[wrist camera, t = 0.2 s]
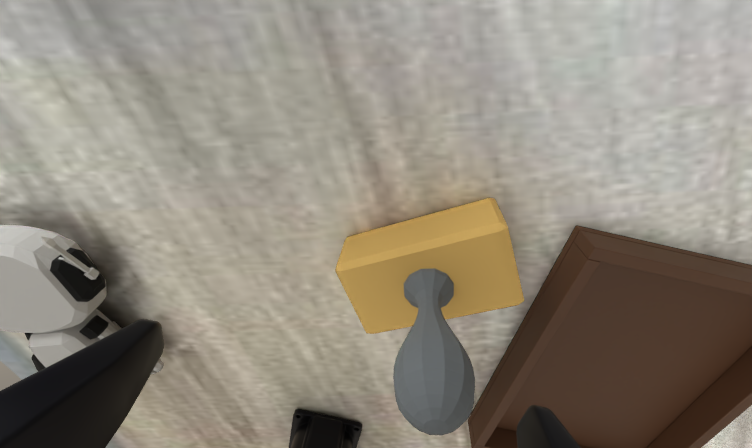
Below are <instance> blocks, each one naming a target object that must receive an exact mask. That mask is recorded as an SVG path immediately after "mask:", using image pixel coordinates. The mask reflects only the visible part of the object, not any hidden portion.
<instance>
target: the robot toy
mask: <svg viewBox="0 0 752 448" xmlns="http://www.w3.org/2000/svg"><path fill="white" fill-rule="evenodd" d="M106 296H107V290H106V280H105V278H104V277H103V276H102V274H101V273H100V272H99V270H98V269H97V268H96V267H95V265H94V264H93V263H92V261H91V259H90V257H89V256H88V254H87V253H86V252H85V251H84V250H82V249H81V248H80V247H79V245H78V244H77V243H76V242H75V241H72V240H70V239H68V238H66V237H64V236H62V235H60V234H58V233H55V232H53V231H49V230H44V229H40V228H35V227H28V226H20V225H0V330H2V331H9V332H21V333H25V335H26V337H27V339H28V340H29V348H30V350H31V351H32V352H33V356H32V360H33V362H34V364H35V367H36V369H37V370H38V371H40V370H42V369H44V368H46V367H48V366H50V365H52V364H54V363H56V362H58V361H60V360H62V359H64V358H66V357H68V356H70V355H72V354H73V353H75V352H77V351H79V350H81V349H83V348H85V347H87V346H89V345H91V344H93V343H95V342H97V341H99V340H101V339H103V338H105V337H106V336H108V335H110V334H112V333H114V332H116V331H118V330H120V329H122V328H121V327H120V326H119V325H118V324H117V323H116V322H115V321H112V322H111V321H110V320H109V319H108V318H107V317H106V316H105V315H103V314H102V313H101V312H100V311H99V310H98V309H96V308H97V307H98V306H99V305H100V304H101V303H102V302H103V300H104V299H105V298H106ZM163 364H164V363H163V362H162V361H161V360H160V359H159V360H158V362H157V364H156V366H155V367H154V369H153V371H152V373H151V374H155V373H157V372H159V371H161V369H162V368H163Z"/></svg>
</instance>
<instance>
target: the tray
mask: <svg viewBox="0 0 752 448" xmlns="http://www.w3.org/2000/svg"><path fill="white" fill-rule="evenodd" d="M531 405H537V406H542V407H546V408H549V409H550V410H551V411H552V412H553V413H554V414H555V415H556V417H557V418H558V419H559V420H560V422H561V423H562V424H563V425H564V427H565V428H566V429H567V431H568V432H569V433H570V434H571V436H572V437H573V438H574V439H575V441H576V442H577V443H578V444H579V446H580V447H581V448H701V447H702V446H704V445H705V444H706V443H707V442H708V441H709V440H711V439H712V438H713V437H714V436H715V435H717V434H718V433H719V432H720V431H721V430H722V429H724V428H725V427H726V426H727V425H728V424H730V423H731V422H732V421H733V420H734V419H735V418H737V417H738V416H739V415H740V414H741V413H743V412H744V411H745V410H746V409H747V408H748V407H750V406H751V405H752V265H748V264H744V263H739V262H735V261H730V260H726V259H721V258H717V257H713V256H708V255H704V254H699V253H695V252H691V251H686V250H682V249H677V248H673V247H669V246H664V245H660V244H655V243H651V242H647V241H642V240H638V239H633V238H629V237H625V236H620V235H616V234H611V233H607V232H602V231H598V230H594V229H589V228H585V227H580V226H576V227H575V228H574V230H573V232H572V234H571V236H570V237H569V239H568V241H567V243H566V245H565V246H564V248H563V250H562V252H561V254H560V255H559V257H558V259H557V261H556V263H555V264H554V266H553V268H552V270H551V272H550V273H549V275H548V277H547V279H546V281H545V282H544V284H543V286H542V288H541V290H540V291H539V293H538V295H537V297H536V299H535V300H534V302H533V304H532V306H531V308H530V309H529V311H528V313H527V315H526V317H525V318H524V320H523V322H522V324H521V326H520V327H519V329H518V331H517V333H516V335H515V336H514V338H513V340H512V342H511V344H510V345H509V347H508V349H507V351H506V353H505V354H504V356H503V358H502V360H501V362H500V363H499V365H498V367H497V369H496V371H495V372H494V374H493V376H492V378H491V380H490V381H489V383H488V385H487V387H486V389H485V390H484V392H483V394H482V396H481V398H480V399H479V401H478V403H477V405H476V407H475V408H474V410H473V412H472V414H471V416H470V417H469V419H468V425H469V432H470V439H471V447H472V448H518V446H517V435H516V431H517V425H518V423H519V421H520V420H521V418H522V417H523V415H524V414H525V412H526V411H527V409H528V408H529V407H530V406H531Z"/></svg>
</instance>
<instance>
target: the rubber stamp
mask: <svg viewBox="0 0 752 448" xmlns="http://www.w3.org/2000/svg"><path fill="white" fill-rule="evenodd" d="M336 273H337V275H338V277H339V279H340V281H341V283H342V285H343V287H344V289H345V291H346V293H347V295H348V297H349V299H350V301H351V303H352V305H353V307H354V309H355V311H356V313H357V315H358V317H359V319H360V321H361V323H362V325H363V327H364V329H365V331H366V333H371V334H374V333H380V332H385V331H390V330H395V329H400V328H405V327H410V326H413V327H412V328H411V330H410V332H409V334H408V335H407V337H406V339H405V341H404V342H403V344H402V346H401V348H400V350H399V352H398V355H397V358H396V361H395V365H394V376H393V378H394V388H395V397H396V402H397V405H398V408H399V410H400V411H401V413H402V414H403V416H404V417H405V418H406V419H407V420H408V421H409V422H410V423H411V424H412V426H413V427H415V428H416V429H418V430H419V431H421V432H424V433H427V434H429V435H444V434H448V433H451V432H453V431H455V430H456V429H457V428H459V427H460V426H461V425H462V424H463V423H464V422H465V421H466V420H467V418H468V417H469V415H470V413H471V412H472V408H473V404H474V391H475V377H474V371H473V367H472V364H471V361H470V359H469V357H468V355H467V353H466V351H465V349H464V348H463V346H462V345H461V343H460V342H459V340H458V339H457V337H456V336H455V335H454V333H453V332H452V330H451V329H450V327H449V326H448V324H447V322H446V321H445V319H450V318H455V317H460V316H466V315H471V314H476V313H481V312H486V311H491V310H496V309H501V308H506V307H511V306H516V305H519V304H520V303H522V302H523V301H524V297H523V293H522V288H521V284H520V279H519V275H518V270H517V266H516V262H515V257H514V253H513V248H512V244H511V239H510V235H509V230H508V226H507V224H506V222H505V220H504V217H503V215H502V213H501V211H500V209H499V207H498V205H497V203H496V201H495V199H492V198H487V199H483V200H480V201H476V202H472V203H469V204H465V205H462V206H458V207H454V208H451V209H447V210H443V211H440V212H436V213H432V214H429V215H425V216H422V217H418V218H414V219H411V220H407V221H403V222H400V223H396V224H393V225H389V226H385V227H382V228H378V229H374V230H371V231H367V232H363V233H360V234H356V235H353V236H349V237H347V238H346V240H345V242H344V245H343V248H342V251H341V254H340V257H339V260H338V263H337V266H336Z"/></svg>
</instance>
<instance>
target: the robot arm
mask: <svg viewBox="0 0 752 448" xmlns="http://www.w3.org/2000/svg"><path fill="white" fill-rule="evenodd" d="M163 349H164V342H163V334H162V327H161V324H160V323H159V322H157V321H152V320H148V319H141V320H138V321H136V322H134V323H132V324H130V325H128V326H126V327H124V328H122V329H120V330H118V331H116V332H114V333H112V334H110V335H108V336H106V337H105V338H103V339H101V340H99V341H97V342H95V343H93V344H91V345H89V346H87V347H85V348H83V349H81V350H79V351H77V352H75V353H73V354H72V355H70V356H68V357H66V358H64V359H62V360H60V361H58V362H56V363H54V364H52V365H50V366H48V367H46V368H44V369H42V370H40V371H38V372H37V373H35V374H33V375H31V376H29V377H27V378H25V379H23V380H21V381H19V382H17V383H15V384H13V385H12V386H10V387H8V388H6V389H4V390H2V391H0V448H105V447H106V446H107V444H108V443H109V441H110V440H111V439H112V437H113V436H114V434H115V433H116V431H117V430H118V428H119V427H120V425H121V424H122V422H123V421H124V419H125V418H126V416H127V415H128V413H129V411H130V410H131V408H132V406H133V404H134V403H135V401H136V399H137V397H138V396H139V394H140V392H141V390H142V389H143V387H144V385H145V383H146V381H147V380H148V378H149V376H150V374H151V373H152V371H153V369H154V367H155V366H156V364H157V362H158V360H159V359H160V357H161V355H162V352H163ZM361 431H362V424H361V423H359V422H355V421H351V420H346V419H342V418H337V417H332V416H328V415H323V414H319V413H314V412H310V411H305V410H300V409H297V410H295V412H294V415H293V422H292V429H291V436H290V443H289V448H356V447H357V443H358V440H359V437H360V434H361ZM516 435H517V446H518V448H581V447H580V446H579V444H578V443H577V442H576V441H575V439H574V438H573V437H572V436H571V434H570V433H569V432H568V431H567V429H566V428H565V427H564V425H563V424H562V423H561V422H560V420H559V419H558V418H557V417H556V415H555V414H554V413H553V412H552V411H551V410H550V409H549V408H546V407H542V406H537V405H531V406H530V407H529V408H528V409H527V411H526V412H525V414H524V415H523V417H522V418H521V420H520V421H519V423H518V425H517V431H516Z"/></svg>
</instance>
